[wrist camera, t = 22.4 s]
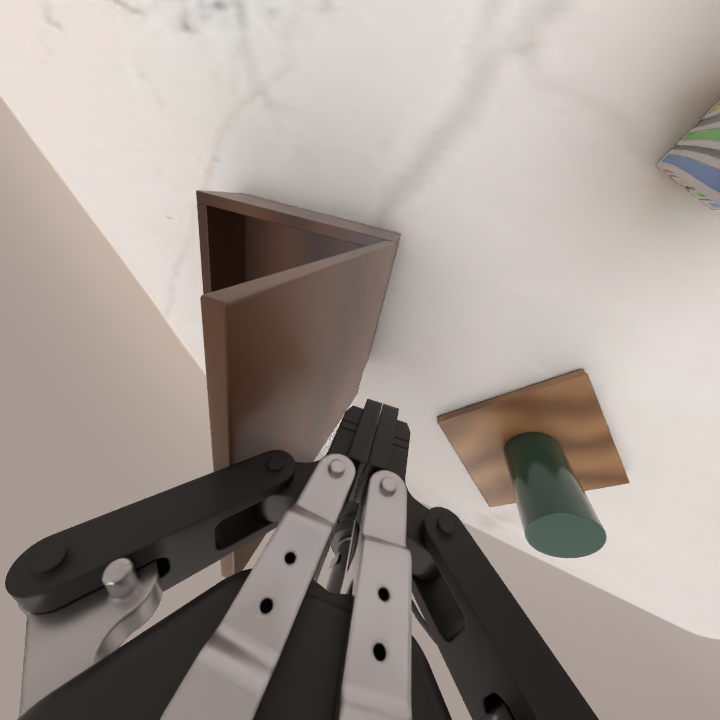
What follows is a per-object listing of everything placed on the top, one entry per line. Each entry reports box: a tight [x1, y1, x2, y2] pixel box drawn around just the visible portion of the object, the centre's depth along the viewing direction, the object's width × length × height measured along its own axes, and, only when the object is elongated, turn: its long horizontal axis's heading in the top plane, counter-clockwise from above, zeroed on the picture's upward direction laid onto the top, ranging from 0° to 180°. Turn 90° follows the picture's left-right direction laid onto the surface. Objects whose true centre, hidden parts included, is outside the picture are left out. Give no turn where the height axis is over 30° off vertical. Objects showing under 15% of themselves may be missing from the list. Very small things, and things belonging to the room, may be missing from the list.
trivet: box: [437, 369, 629, 507], centre depth 31 cm, size 14×14×1 cm
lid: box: [201, 241, 395, 578], centre depth 16 cm, size 15×13×1 cm
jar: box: [503, 432, 606, 558], centre depth 26 cm, size 5×5×9 cm
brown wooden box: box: [196, 190, 401, 370], centre depth 26 cm, size 15×13×6 cm
